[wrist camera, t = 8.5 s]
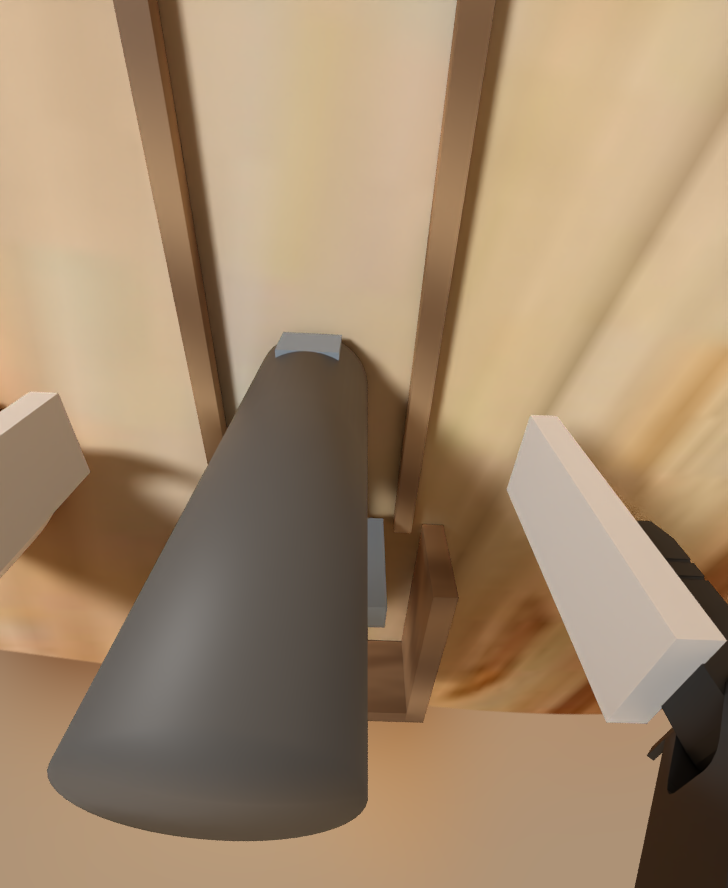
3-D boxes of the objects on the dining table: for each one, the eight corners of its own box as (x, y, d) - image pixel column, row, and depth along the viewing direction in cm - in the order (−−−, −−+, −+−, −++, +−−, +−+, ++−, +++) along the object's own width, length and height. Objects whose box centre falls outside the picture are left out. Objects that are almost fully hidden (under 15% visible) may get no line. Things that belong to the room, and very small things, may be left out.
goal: (189, 514, 19) (153, 586, 16) (443, 525, 20) (458, 597, 16) (223, 644, 26) (201, 715, 22) (415, 651, 26) (422, 722, 23)
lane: (65, -305, 8) (44, -337, 7) (531, -266, 8) (542, -294, 7) (224, 516, 19) (220, 525, 19) (409, 523, 20) (410, 533, 19)
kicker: (224, 329, 14) (-115, 719, 4) (399, 338, 14) (473, 736, 4) (252, 521, 19) (128, 903, 9) (380, 526, 19) (394, 909, 9)
